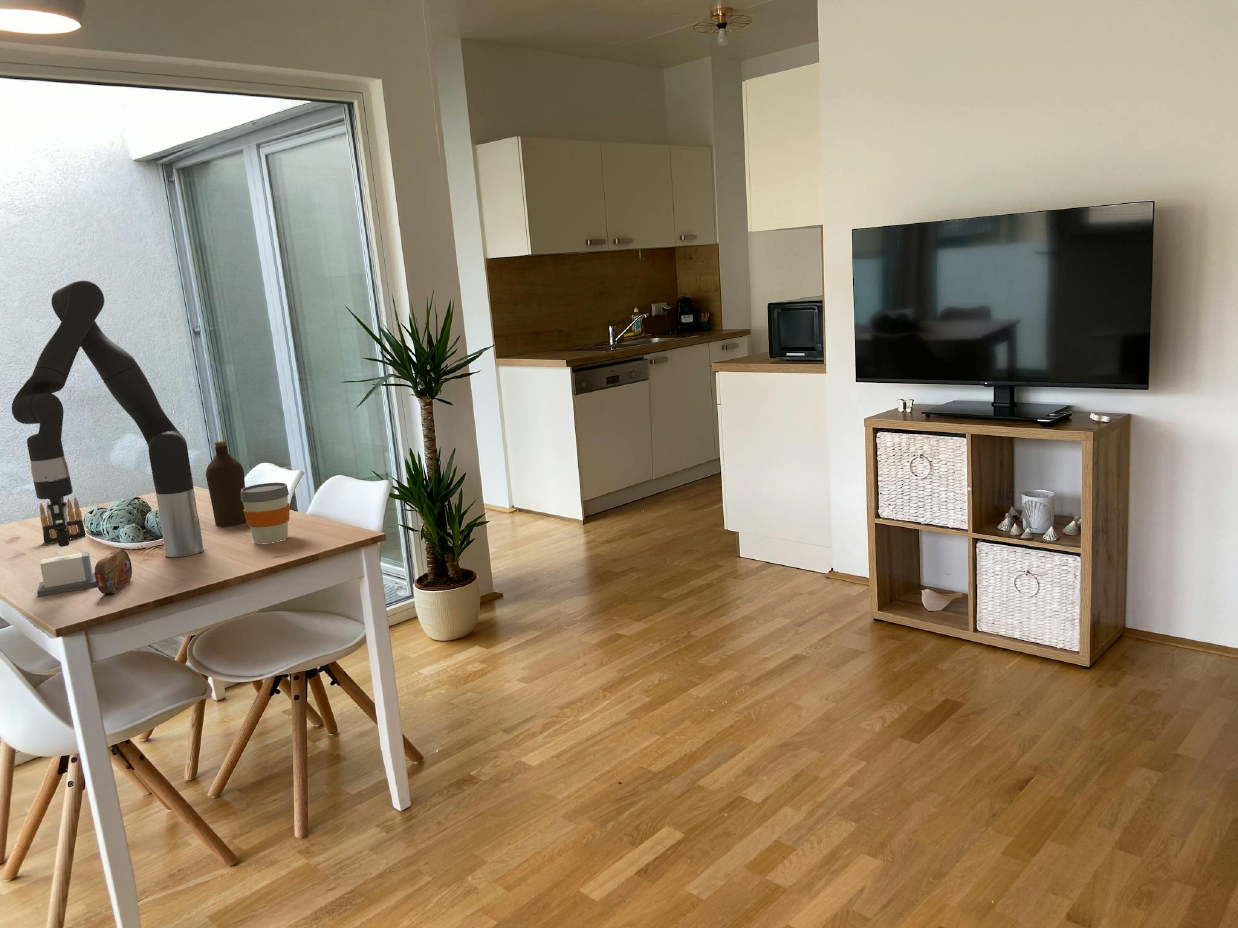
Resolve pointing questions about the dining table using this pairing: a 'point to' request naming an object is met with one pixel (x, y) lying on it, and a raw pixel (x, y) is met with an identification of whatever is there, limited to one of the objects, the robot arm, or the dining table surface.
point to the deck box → (66, 569)
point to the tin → (113, 572)
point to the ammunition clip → (71, 523)
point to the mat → (65, 587)
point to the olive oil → (226, 487)
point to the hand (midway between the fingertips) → (64, 542)
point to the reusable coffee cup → (266, 511)
